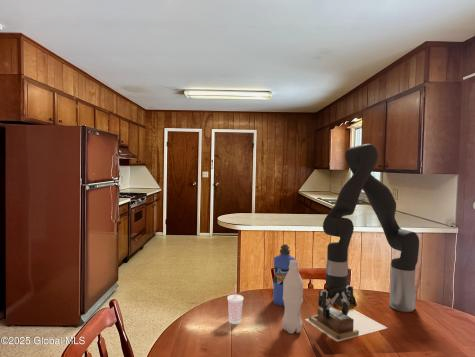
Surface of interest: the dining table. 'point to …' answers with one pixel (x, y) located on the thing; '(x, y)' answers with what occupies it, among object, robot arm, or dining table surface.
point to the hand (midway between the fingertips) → (335, 316)
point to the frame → (336, 320)
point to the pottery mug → (342, 302)
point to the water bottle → (292, 299)
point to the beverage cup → (235, 307)
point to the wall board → (359, 326)
